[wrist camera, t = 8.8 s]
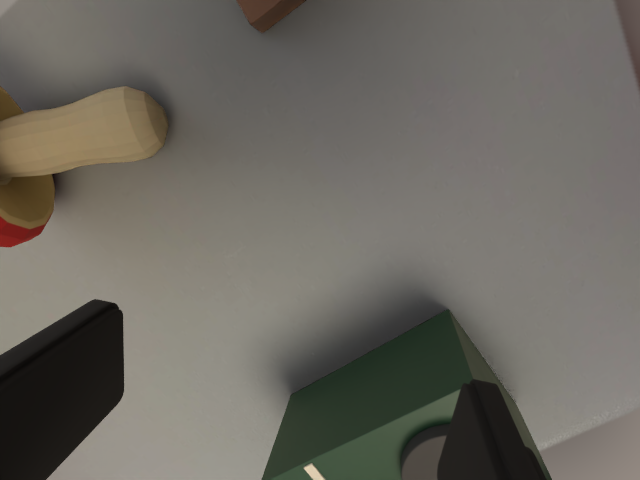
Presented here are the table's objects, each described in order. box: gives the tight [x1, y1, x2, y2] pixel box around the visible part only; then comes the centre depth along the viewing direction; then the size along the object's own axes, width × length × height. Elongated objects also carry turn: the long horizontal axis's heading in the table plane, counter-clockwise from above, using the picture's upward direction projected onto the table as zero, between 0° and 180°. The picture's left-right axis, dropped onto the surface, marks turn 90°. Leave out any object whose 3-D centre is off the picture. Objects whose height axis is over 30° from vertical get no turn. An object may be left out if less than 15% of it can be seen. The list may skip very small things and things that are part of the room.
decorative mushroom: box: [0, 86, 169, 247], centre depth 23 cm, size 11×11×15 cm
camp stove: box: [262, 309, 552, 480], centre depth 25 cm, size 14×9×9 cm, turn 127°
